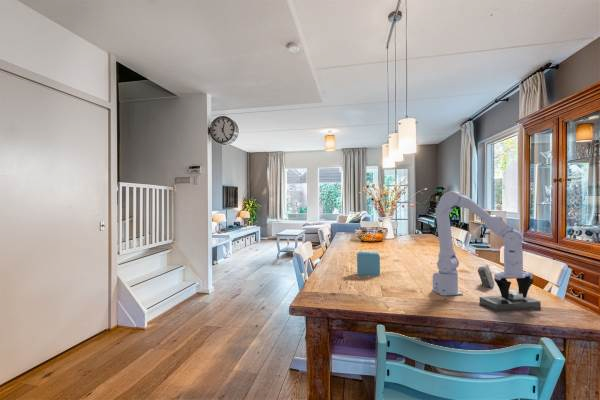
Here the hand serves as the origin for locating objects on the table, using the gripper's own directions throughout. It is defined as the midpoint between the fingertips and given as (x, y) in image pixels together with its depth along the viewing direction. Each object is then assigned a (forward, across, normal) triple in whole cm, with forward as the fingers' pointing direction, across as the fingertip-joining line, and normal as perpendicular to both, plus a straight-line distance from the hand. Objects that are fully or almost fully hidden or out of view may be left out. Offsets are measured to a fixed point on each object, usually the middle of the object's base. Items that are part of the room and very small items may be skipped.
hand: (513, 297), depth 105 cm
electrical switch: (+3, +10, +24) cm, 26 cm away
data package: (+3, -37, +52) cm, 64 cm away
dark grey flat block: (+3, -2, 0) cm, 4 cm away
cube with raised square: (+3, 0, 0) cm, 3 cm away
